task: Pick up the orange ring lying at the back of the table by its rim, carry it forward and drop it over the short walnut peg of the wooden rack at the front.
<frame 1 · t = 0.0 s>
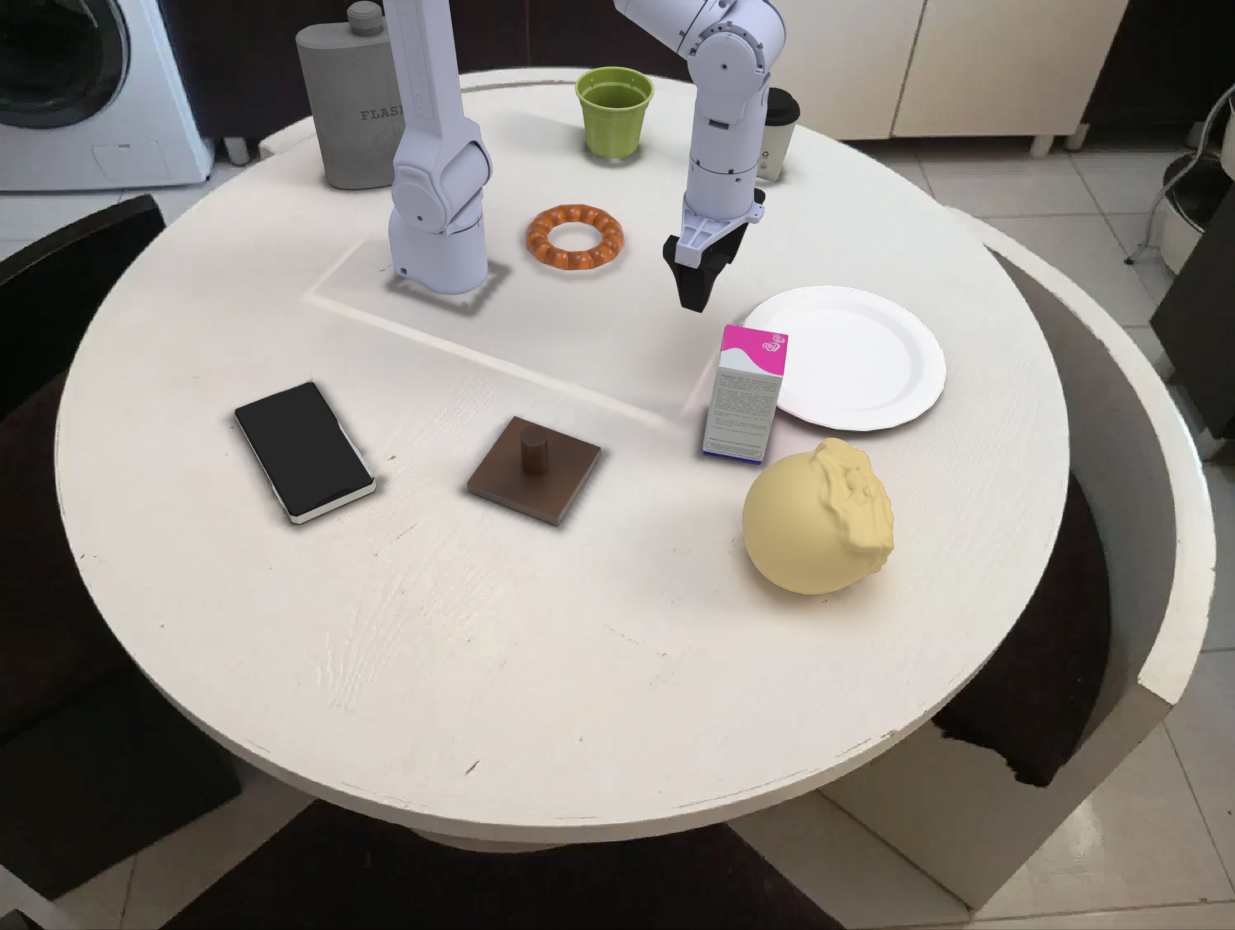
hand: (707, 283, 92), 10 cm above the table, tool pointing down, fingers open, 7 cm apart
flask: (390, 173, 119), on the table
plant pot: (612, 153, 123), on the table
plate: (838, 365, 100), on the table
ring: (575, 238, 110), point 1 cm above the table
supplement box: (735, 439, 94), on the table
sculpture: (805, 556, 85), on the table
smartphone: (305, 454, 91), on the table
rack: (535, 473, 90), on the table
coffee cup: (759, 175, 121), on the table
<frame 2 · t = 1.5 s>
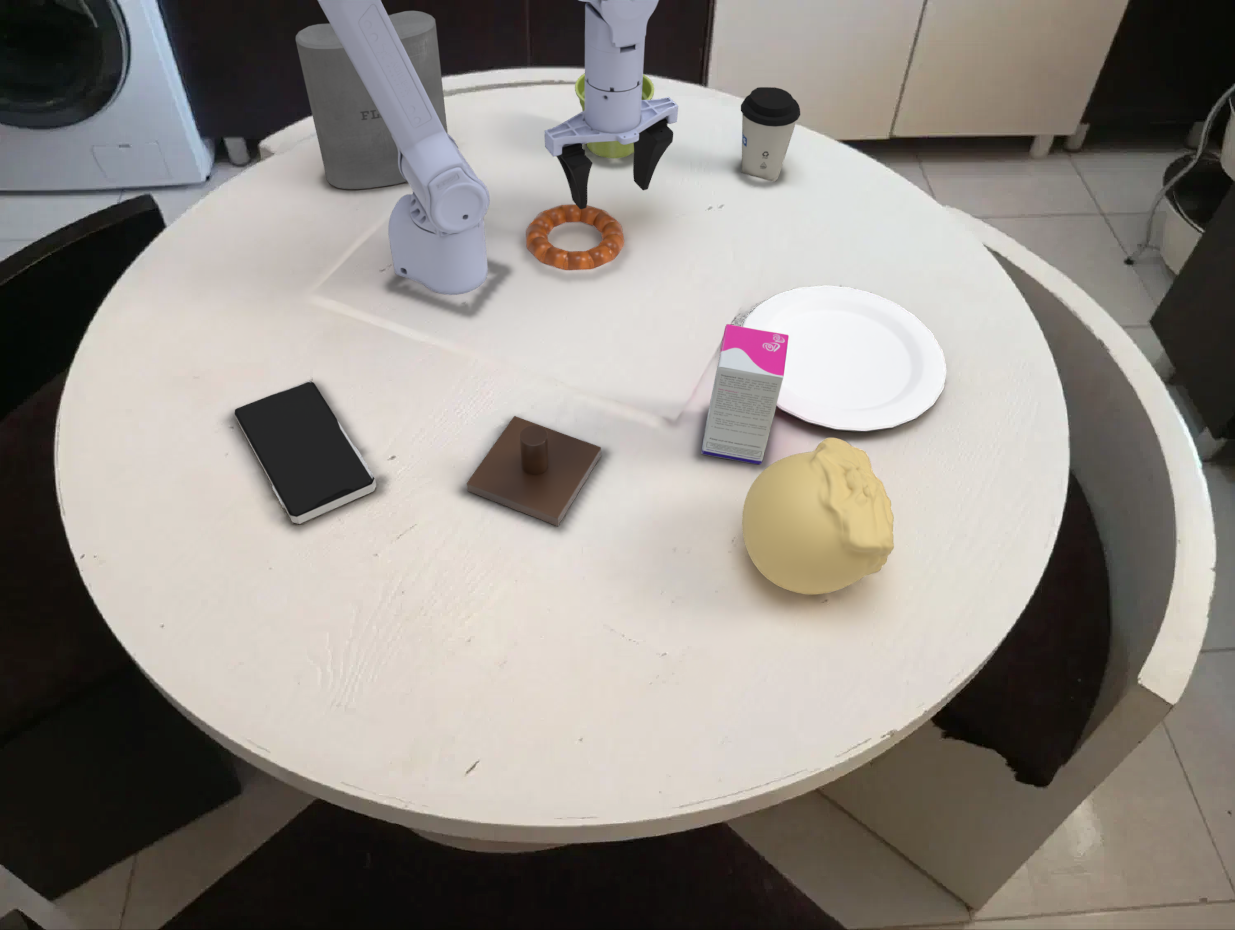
hand: (610, 194, 108), 6 cm above the table, tool pointing down, fingers open, 7 cm apart
nothing on the table moved.
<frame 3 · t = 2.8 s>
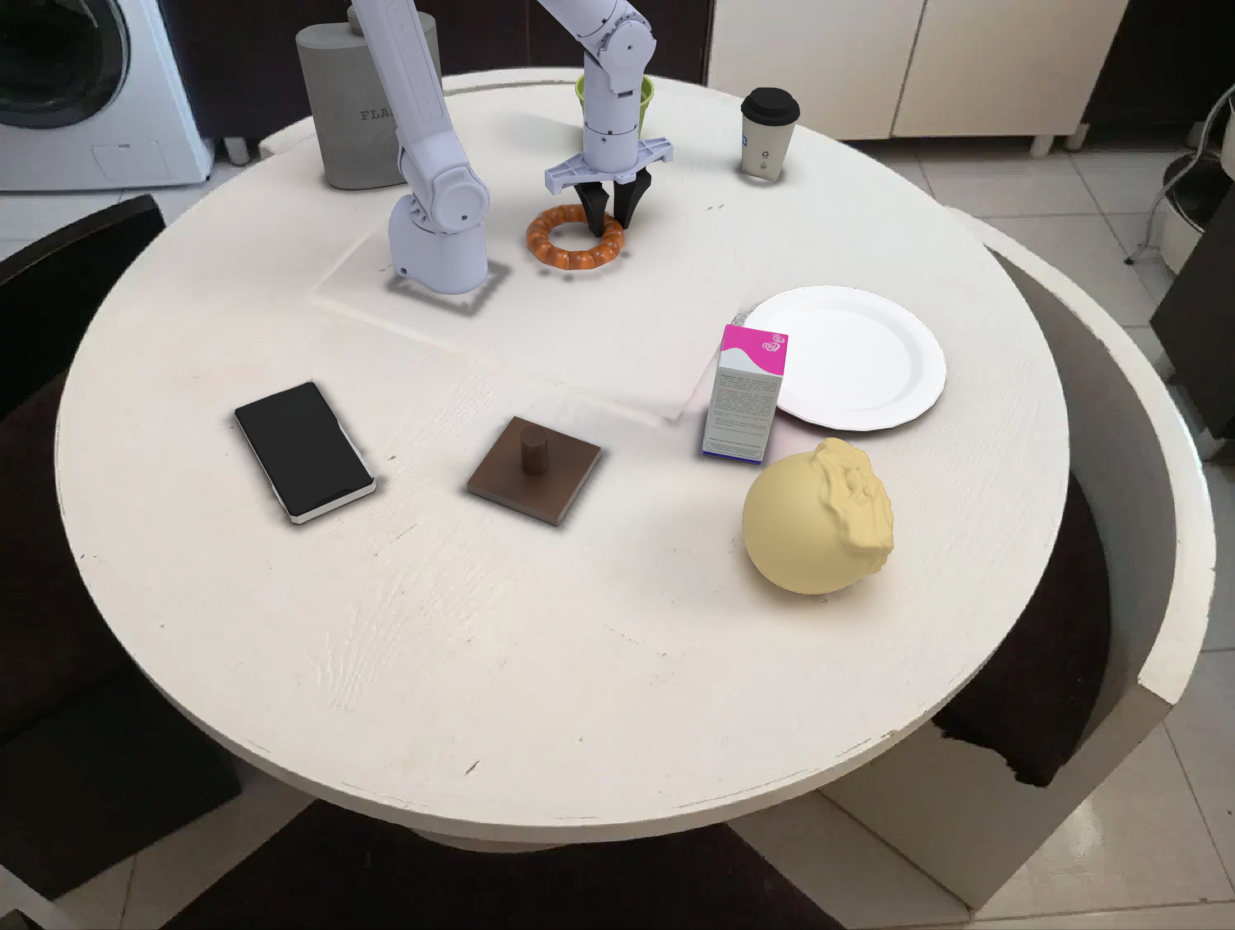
hand: (608, 229, 112), 1 cm above the table, tool pointing down, fingers closed on ring, 3 cm apart
ring: (575, 238, 110), point 1 cm above the table, touching gripper
everything else where it was.
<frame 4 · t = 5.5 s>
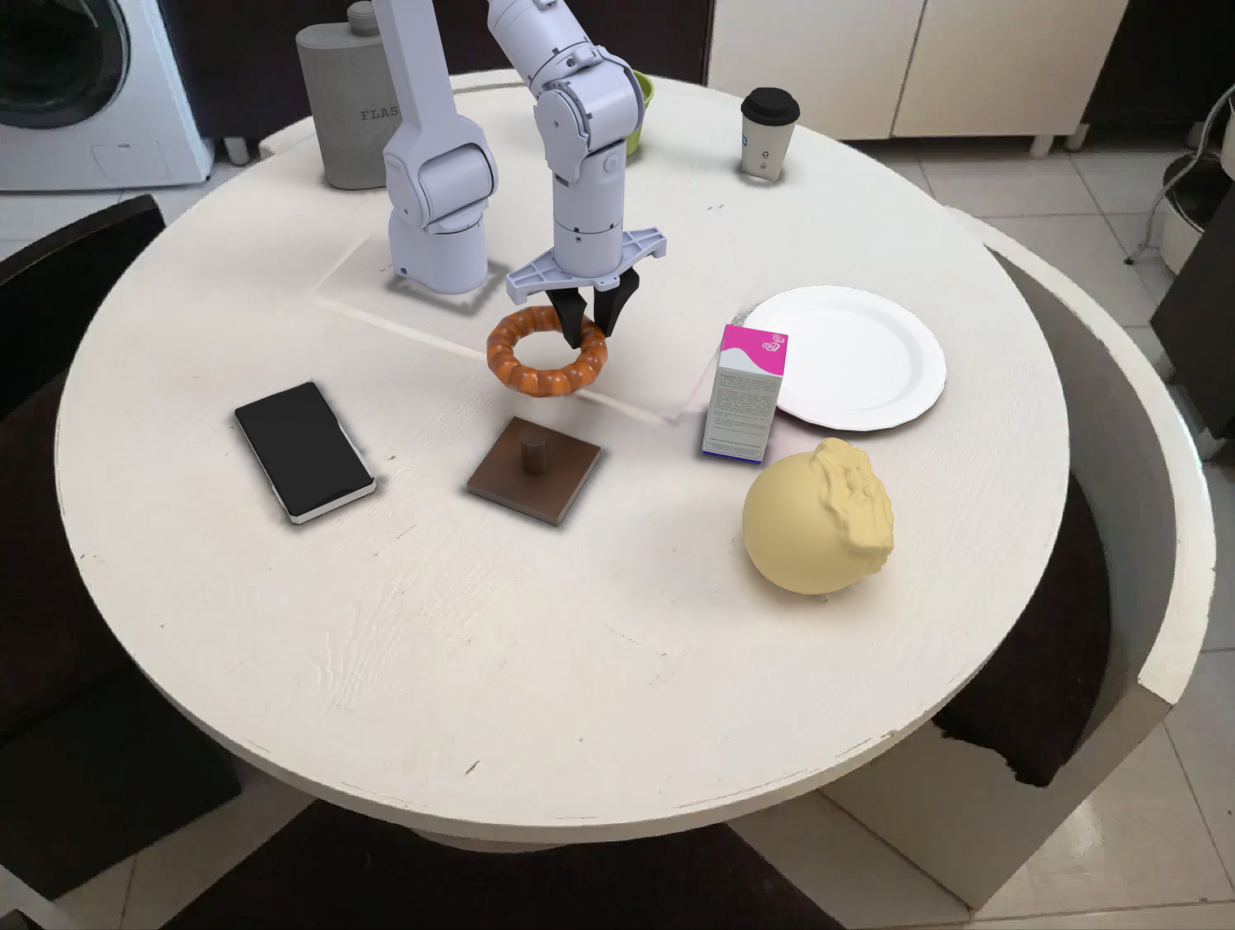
hand: (587, 336, 91), 7 cm above the table, tool pointing down, fingers closed on ring, 3 cm apart
ring: (547, 349, 89), point 8 cm above the table, touching gripper
everything else where it was.
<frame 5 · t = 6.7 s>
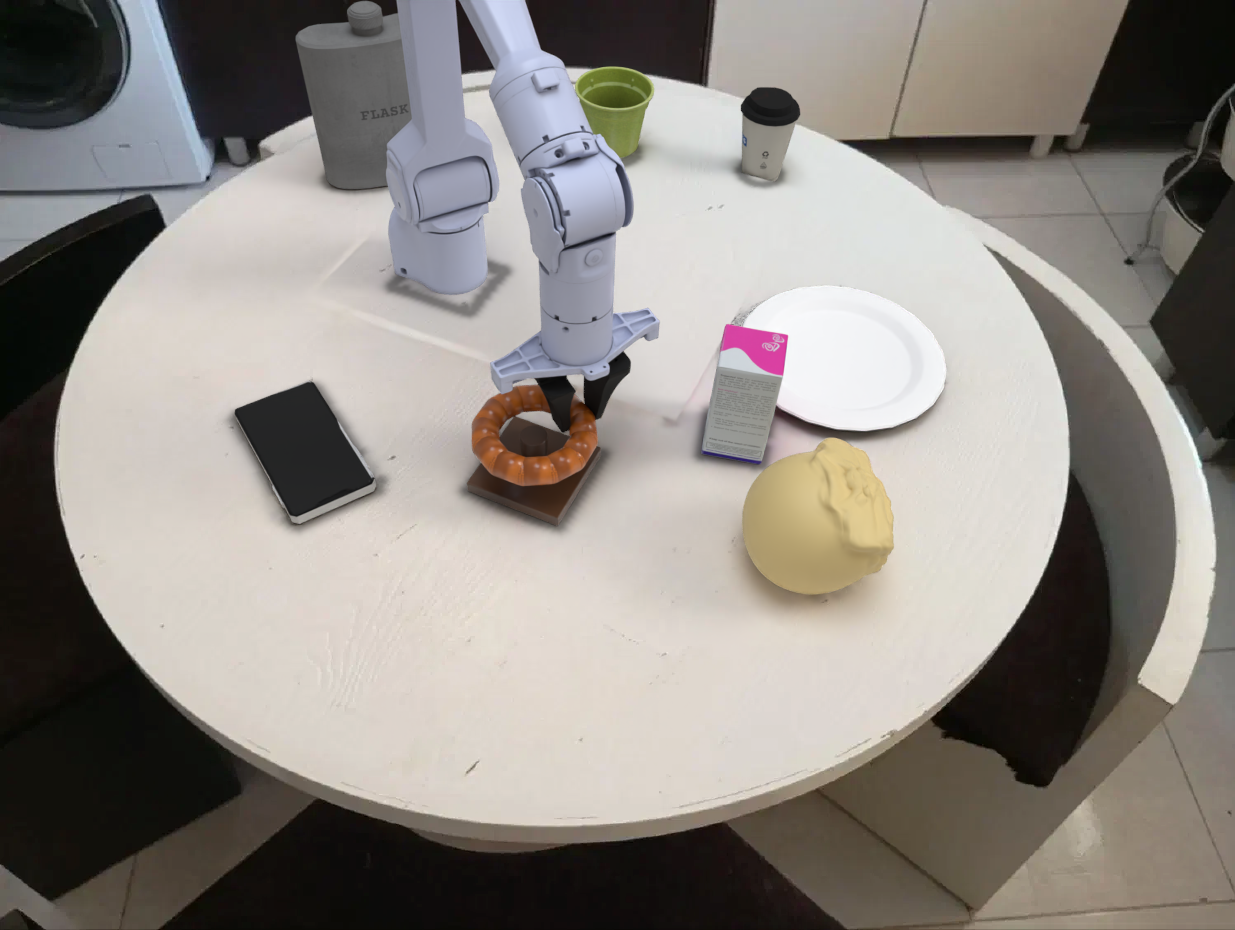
hand: (576, 418, 87), 5 cm above the table, tool pointing down, fingers closed on ring, 3 cm apart
ring: (534, 433, 86), point 6 cm above the table, touching gripper
everything else where it was.
when the fingers open (2 cm above the table, at t = 8.0 s): ring stays where it is, resting on rack.
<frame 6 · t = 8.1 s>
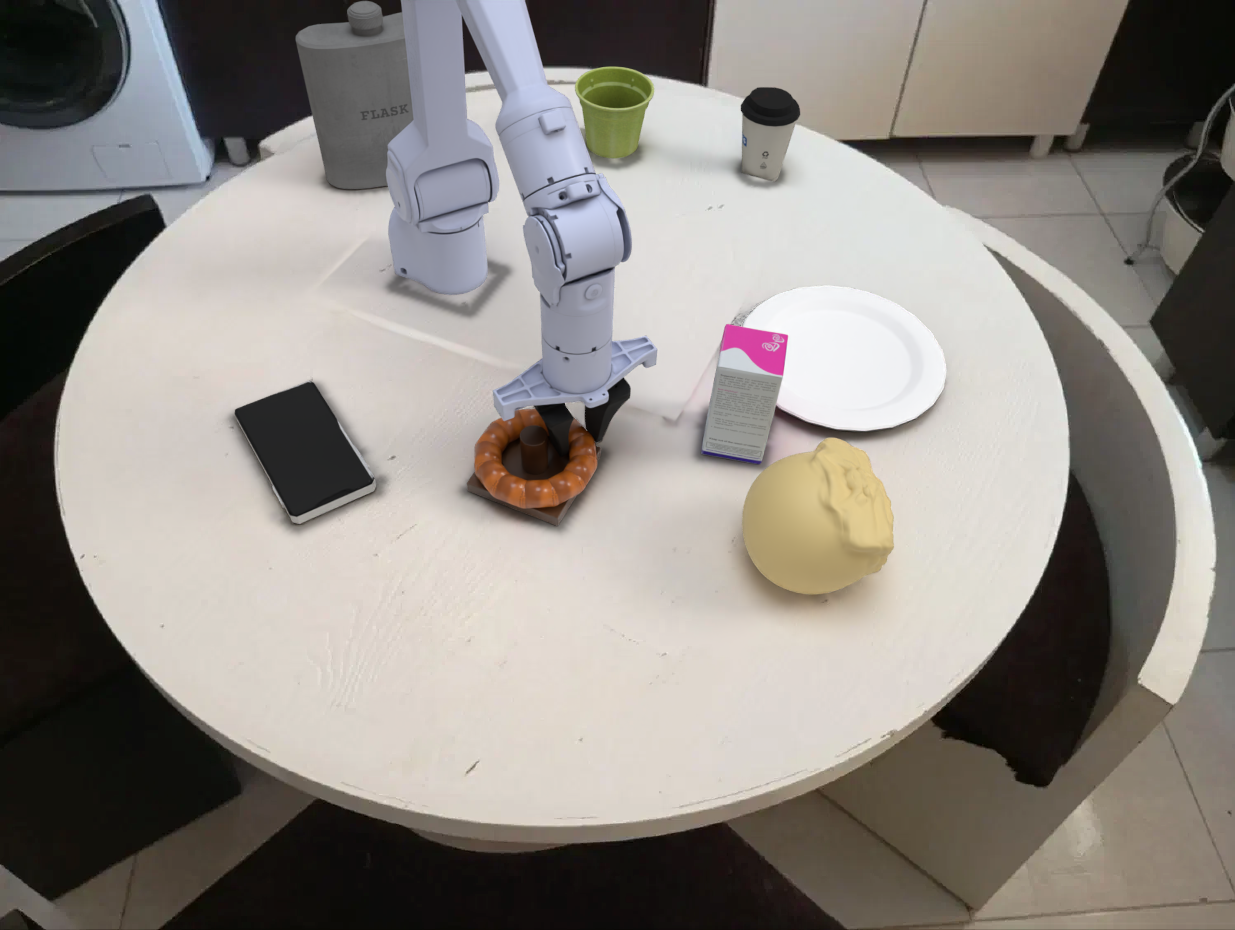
hand: (576, 441, 90), 2 cm above the table, tool pointing down, fingers open, 3 cm apart
ring: (535, 456, 88), point 2 cm above the table, touching rack
everything else where it was.
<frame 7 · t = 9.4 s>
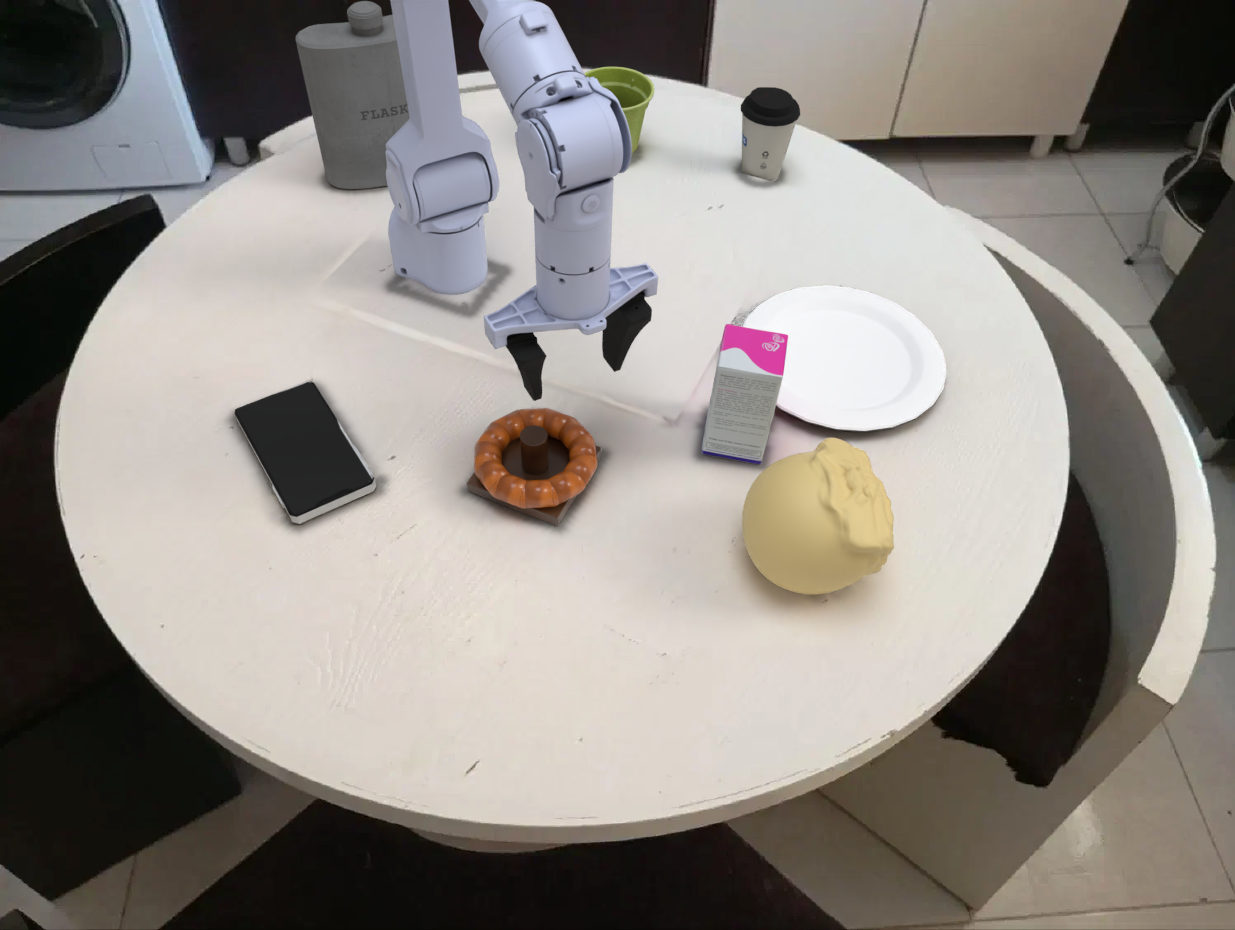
hand: (572, 377, 85), 9 cm above the table, tool pointing down, fingers open, 7 cm apart
nothing on the table moved.
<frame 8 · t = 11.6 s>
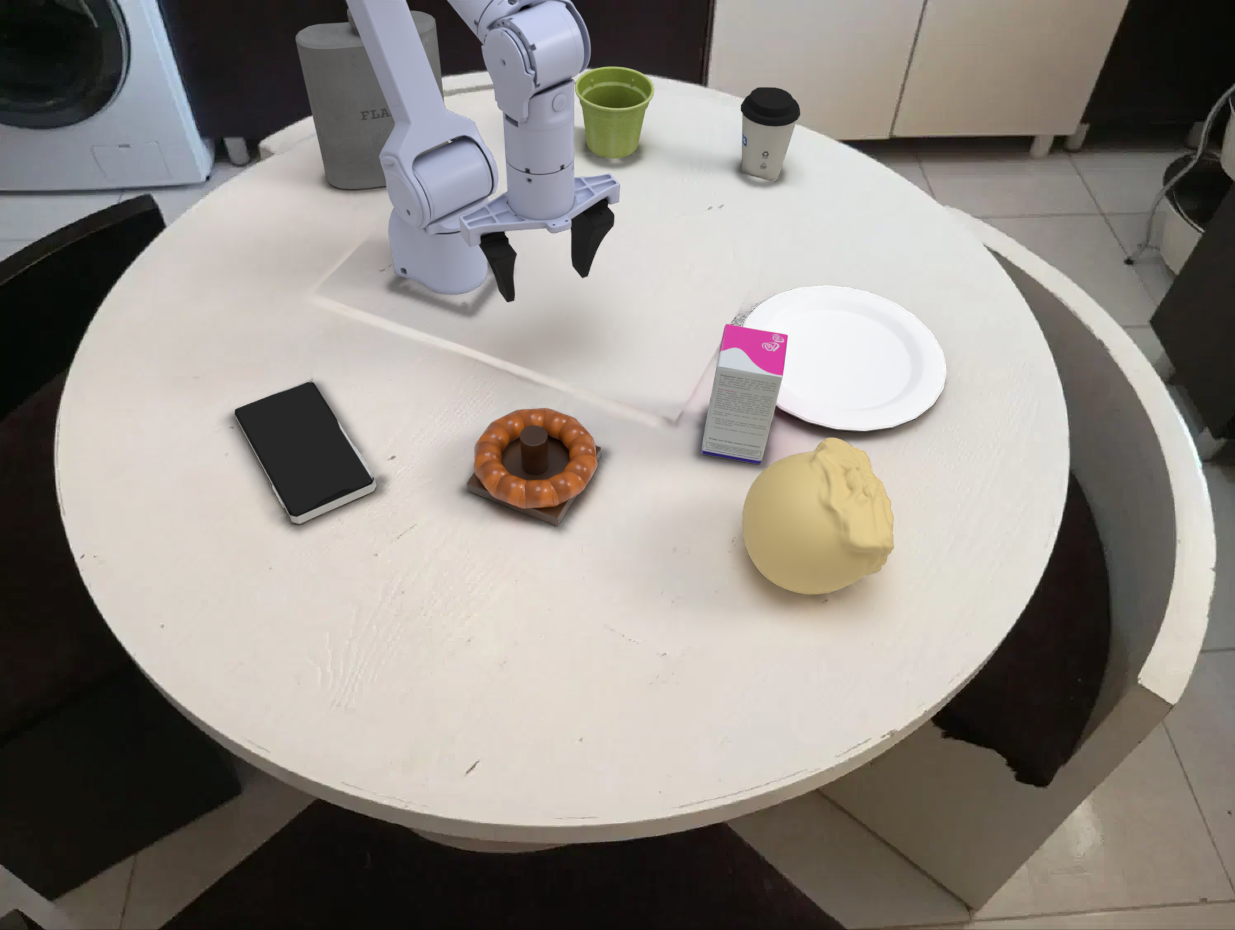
hand: (543, 283, 92), 9 cm above the table, tool pointing down, fingers open, 7 cm apart
nothing on the table moved.
at the end: ring 0.1 cm from the rack (horizontally); ring point 2.4 cm above the table; the gripper is holding nothing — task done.
